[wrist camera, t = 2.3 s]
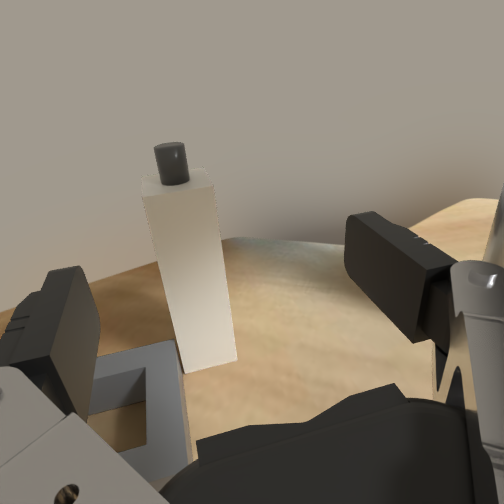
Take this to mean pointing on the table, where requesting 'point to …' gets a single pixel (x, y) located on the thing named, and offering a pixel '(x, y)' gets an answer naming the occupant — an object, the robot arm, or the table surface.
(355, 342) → the table surface
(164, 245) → the plug
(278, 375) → the table surface
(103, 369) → the socket
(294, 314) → the table surface
